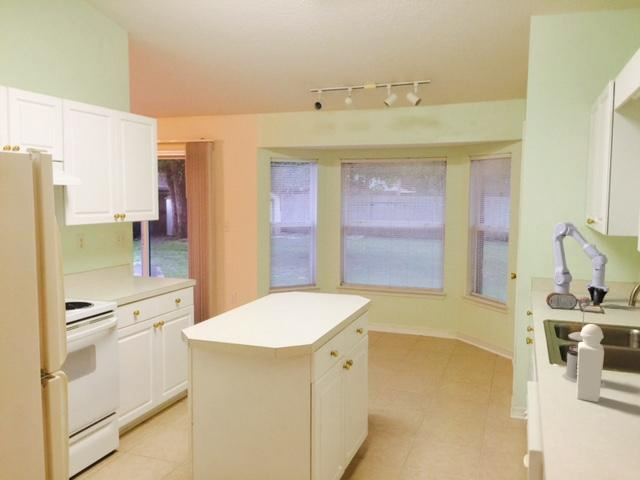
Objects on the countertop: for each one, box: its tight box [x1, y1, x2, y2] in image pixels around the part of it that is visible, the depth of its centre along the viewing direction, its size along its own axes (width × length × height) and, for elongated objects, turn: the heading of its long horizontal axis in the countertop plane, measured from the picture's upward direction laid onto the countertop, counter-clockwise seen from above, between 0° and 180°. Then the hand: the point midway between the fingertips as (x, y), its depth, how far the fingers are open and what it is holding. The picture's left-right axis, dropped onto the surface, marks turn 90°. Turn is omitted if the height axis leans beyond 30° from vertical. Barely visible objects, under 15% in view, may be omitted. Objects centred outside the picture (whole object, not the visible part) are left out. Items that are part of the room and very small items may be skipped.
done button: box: [579, 296, 590, 302], centre depth 274 cm, size 4×4×3 cm
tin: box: [545, 291, 578, 310], centre depth 266 cm, size 15×3×8 cm, turn 84°
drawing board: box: [579, 305, 604, 315], centre depth 265 cm, size 12×10×1 cm
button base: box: [578, 298, 591, 308], centre depth 274 cm, size 5×5×3 cm
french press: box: [562, 303, 588, 384], centre depth 164 cm, size 10×12×25 cm
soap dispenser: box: [576, 323, 605, 403], centre depth 149 cm, size 6×6×22 cm
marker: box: [592, 290, 601, 307], centre depth 273 cm, size 3×3×9 cm
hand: (596, 302), depth 273 cm, fingers open, 4 cm apart
